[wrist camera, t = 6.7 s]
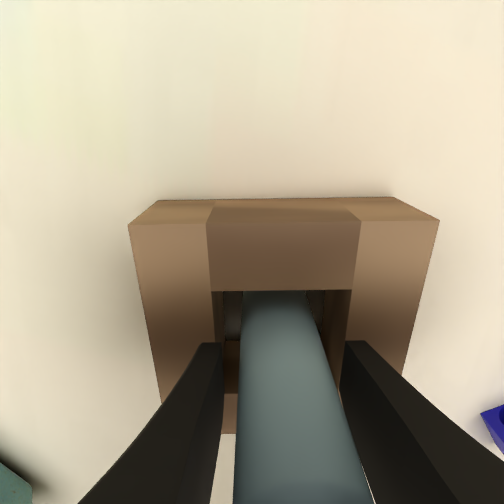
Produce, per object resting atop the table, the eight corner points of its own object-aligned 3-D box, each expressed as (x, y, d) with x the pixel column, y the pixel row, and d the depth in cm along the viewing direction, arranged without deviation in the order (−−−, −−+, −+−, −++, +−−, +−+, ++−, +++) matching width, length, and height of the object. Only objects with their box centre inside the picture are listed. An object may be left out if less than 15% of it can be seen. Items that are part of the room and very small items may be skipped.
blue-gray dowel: (302, 326, 14) (362, 562, 6) (241, 324, 14) (230, 559, 6) (309, 272, 12) (392, 482, 5) (243, 270, 12) (232, 478, 5)
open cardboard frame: (361, 374, 15) (387, 431, 12) (183, 377, 15) (167, 434, 12) (393, 196, 11) (439, 220, 8) (157, 200, 11) (127, 224, 8)
